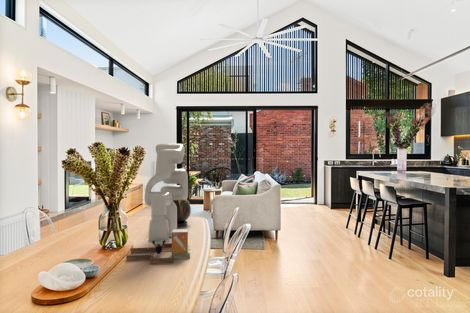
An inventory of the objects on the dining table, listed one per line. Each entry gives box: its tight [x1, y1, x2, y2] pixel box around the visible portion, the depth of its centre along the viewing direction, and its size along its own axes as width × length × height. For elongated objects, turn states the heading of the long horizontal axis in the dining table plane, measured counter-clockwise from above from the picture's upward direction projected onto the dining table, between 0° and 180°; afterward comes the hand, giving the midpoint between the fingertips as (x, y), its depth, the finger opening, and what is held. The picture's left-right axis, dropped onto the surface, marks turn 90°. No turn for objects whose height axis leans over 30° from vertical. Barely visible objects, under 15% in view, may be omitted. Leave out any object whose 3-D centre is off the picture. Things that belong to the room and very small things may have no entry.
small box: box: [171, 228, 189, 254], centre depth 173 cm, size 8×6×13 cm
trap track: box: [125, 242, 191, 265], centre depth 173 cm, size 26×31×2 cm
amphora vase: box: [173, 198, 192, 228], centre depth 243 cm, size 22×22×28 cm
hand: (158, 253), depth 173 cm, fingers closed
